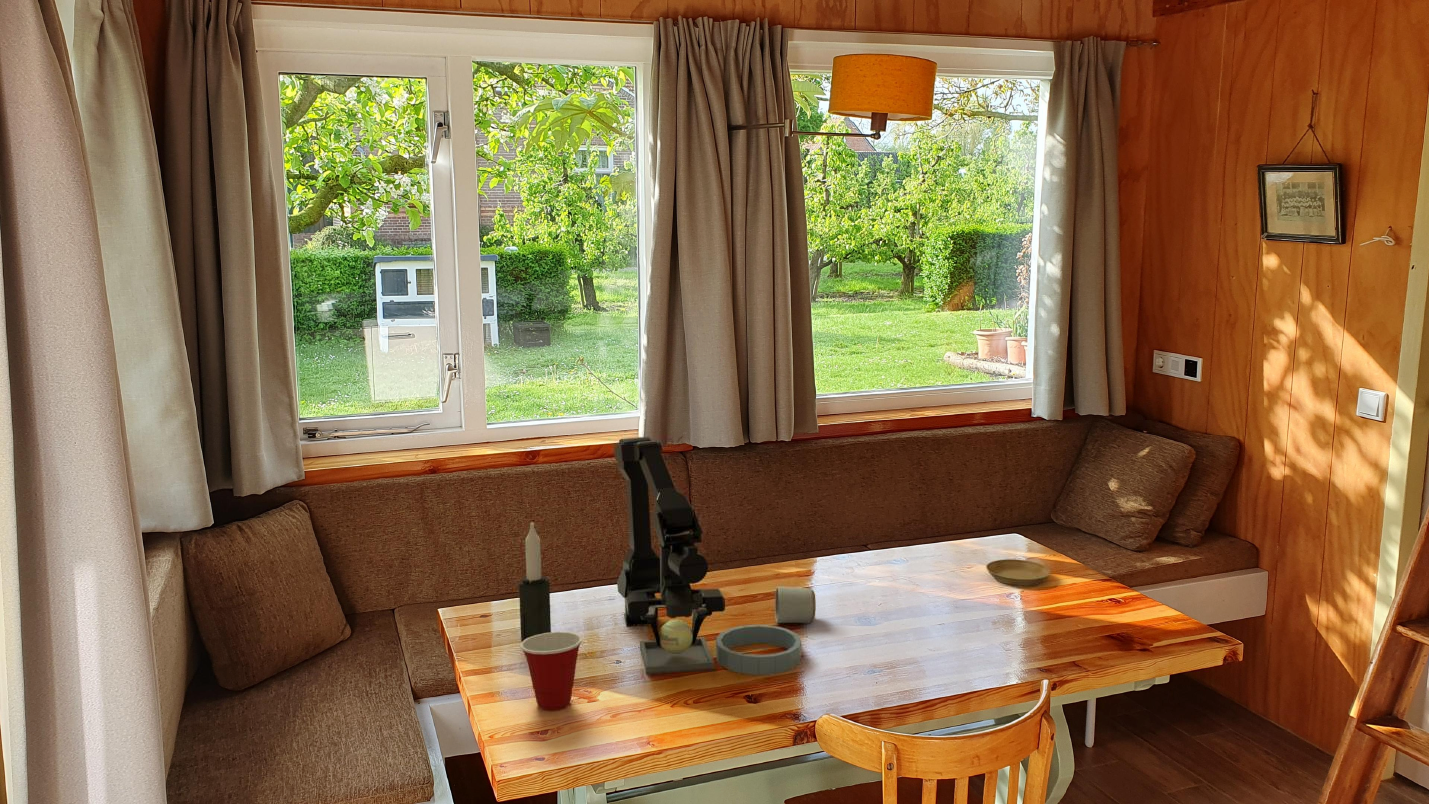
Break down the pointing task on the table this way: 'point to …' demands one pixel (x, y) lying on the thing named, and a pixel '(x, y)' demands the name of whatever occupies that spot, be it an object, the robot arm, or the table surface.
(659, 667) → the tray
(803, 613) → the ceramic mug
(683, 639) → the tennis ball
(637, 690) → the table surface
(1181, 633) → the table surface
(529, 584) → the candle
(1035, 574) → the plant saucer
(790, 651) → the gray open ring
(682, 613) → the robot arm
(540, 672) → the plastic cup
